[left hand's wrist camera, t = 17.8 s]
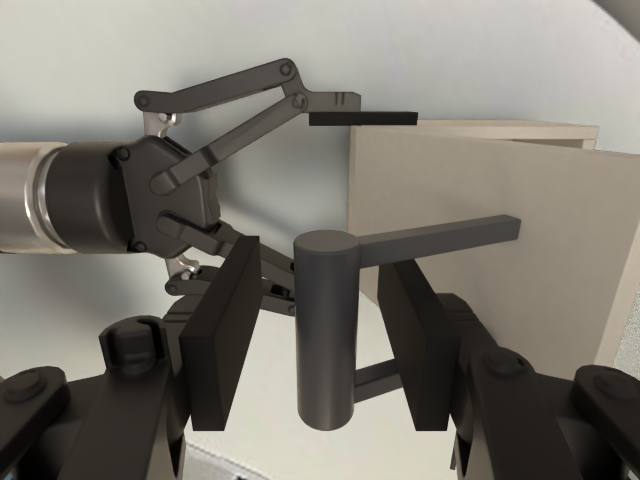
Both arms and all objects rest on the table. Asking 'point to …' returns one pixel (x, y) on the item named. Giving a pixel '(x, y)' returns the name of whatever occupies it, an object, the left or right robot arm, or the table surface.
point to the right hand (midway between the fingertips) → (405, 198)
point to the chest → (490, 130)
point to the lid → (472, 255)
